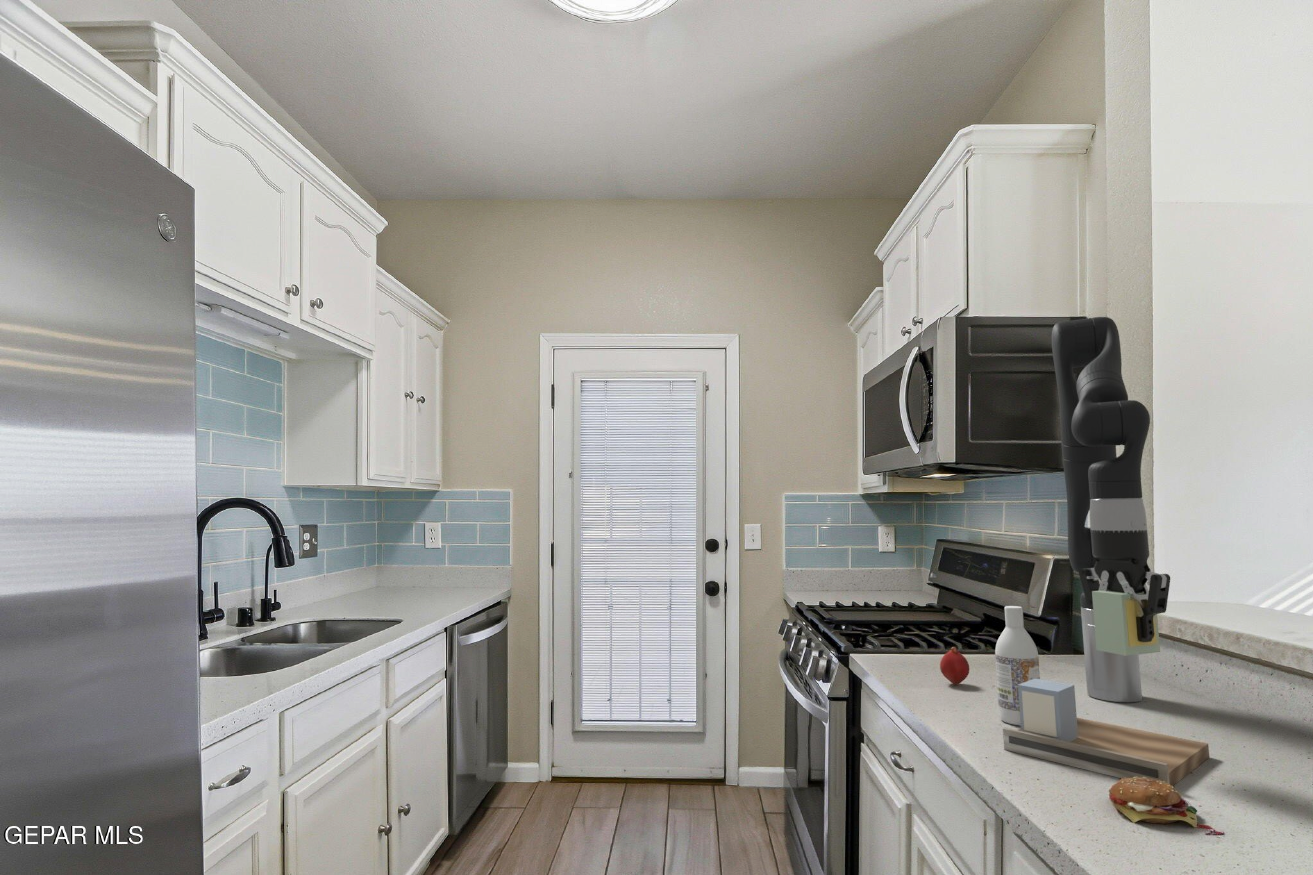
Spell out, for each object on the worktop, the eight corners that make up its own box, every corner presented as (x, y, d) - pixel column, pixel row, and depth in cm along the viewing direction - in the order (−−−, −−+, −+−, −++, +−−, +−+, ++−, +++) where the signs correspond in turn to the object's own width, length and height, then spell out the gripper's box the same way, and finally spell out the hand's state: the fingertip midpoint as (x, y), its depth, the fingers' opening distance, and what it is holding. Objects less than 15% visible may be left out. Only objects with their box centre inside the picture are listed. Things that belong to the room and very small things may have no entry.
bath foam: (1029, 729, 124) (1021, 610, 126) (991, 720, 130) (984, 606, 131) (1050, 722, 128) (1042, 607, 130) (1013, 713, 133) (1005, 603, 135)
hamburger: (1125, 841, 84) (1121, 787, 84) (1085, 794, 97) (1082, 748, 98) (1267, 853, 80) (1261, 796, 81) (1205, 802, 94) (1201, 755, 95)
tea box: (1096, 649, 113) (1091, 591, 114) (1129, 646, 115) (1124, 588, 116) (1127, 655, 108) (1122, 594, 109) (1161, 652, 110) (1156, 592, 111)
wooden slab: (1055, 724, 126) (1054, 706, 126) (1209, 757, 109) (1207, 735, 109) (1003, 749, 114) (1001, 728, 114) (1167, 790, 97) (1165, 765, 97)
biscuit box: (1038, 728, 118) (1034, 678, 118) (1078, 737, 113) (1074, 684, 114) (1020, 737, 114) (1017, 684, 115) (1061, 746, 109) (1057, 691, 110)
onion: (938, 681, 158) (936, 644, 159) (965, 681, 157) (963, 644, 158) (945, 688, 152) (942, 649, 153) (973, 688, 152) (971, 649, 152)
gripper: (1181, 528, 108) (1191, 644, 106) (1095, 526, 121) (1103, 629, 120) (1144, 529, 105) (1154, 648, 104) (1061, 527, 119) (1069, 633, 117)
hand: (1127, 637), depth 112 cm, fingers closed on tea box, 5 cm apart
